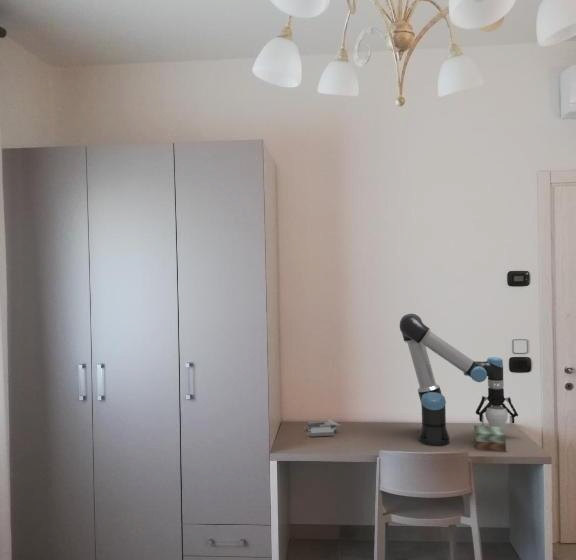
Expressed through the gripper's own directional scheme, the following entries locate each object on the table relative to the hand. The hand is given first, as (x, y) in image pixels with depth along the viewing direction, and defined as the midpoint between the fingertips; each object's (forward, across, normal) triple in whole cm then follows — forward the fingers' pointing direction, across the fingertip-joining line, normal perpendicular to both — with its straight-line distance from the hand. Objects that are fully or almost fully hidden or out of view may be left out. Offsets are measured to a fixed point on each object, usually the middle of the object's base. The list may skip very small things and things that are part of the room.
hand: (496, 428), depth 261 cm
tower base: (+4, -5, -17) cm, 18 cm away
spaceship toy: (+4, -89, -14) cm, 90 cm away
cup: (+4, 0, 0) cm, 4 cm away
